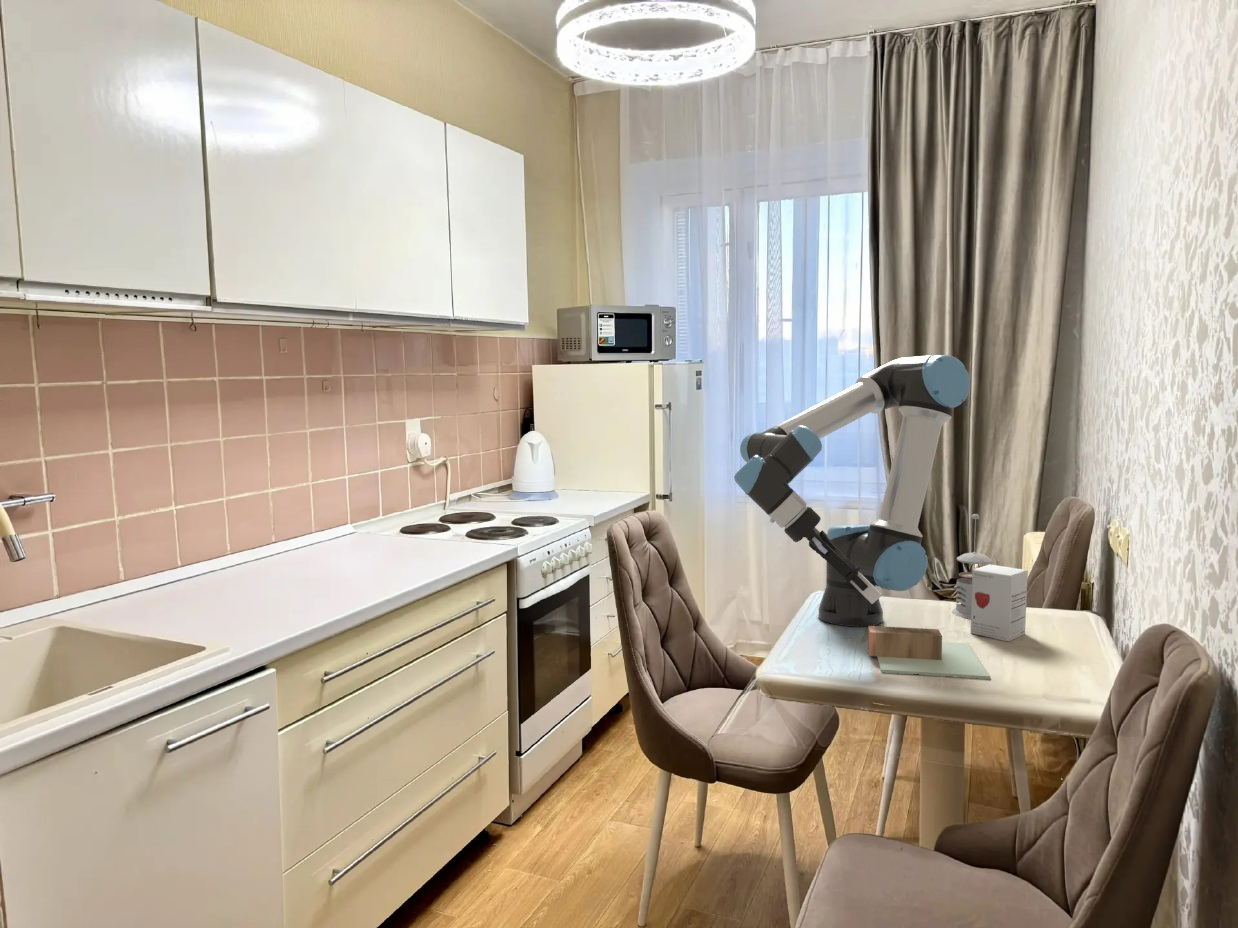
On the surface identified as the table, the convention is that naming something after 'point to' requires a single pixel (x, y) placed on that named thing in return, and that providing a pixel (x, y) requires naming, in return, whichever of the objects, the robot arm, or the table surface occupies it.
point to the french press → (968, 579)
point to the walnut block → (905, 642)
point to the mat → (940, 663)
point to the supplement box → (999, 602)
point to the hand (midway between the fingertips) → (876, 598)
